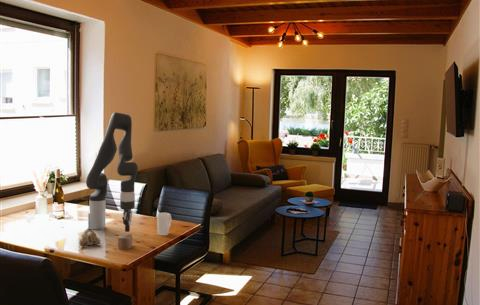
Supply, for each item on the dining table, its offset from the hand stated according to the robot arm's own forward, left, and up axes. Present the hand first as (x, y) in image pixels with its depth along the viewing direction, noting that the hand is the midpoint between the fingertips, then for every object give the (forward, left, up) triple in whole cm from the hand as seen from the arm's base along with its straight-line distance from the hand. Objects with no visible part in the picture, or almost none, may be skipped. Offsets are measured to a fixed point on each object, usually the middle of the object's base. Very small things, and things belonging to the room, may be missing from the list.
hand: (127, 231), depth 242 cm
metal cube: (0, -1, -4) cm, 4 cm away
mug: (+17, +23, -8) cm, 29 cm away
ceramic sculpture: (-20, -1, -8) cm, 21 cm away
